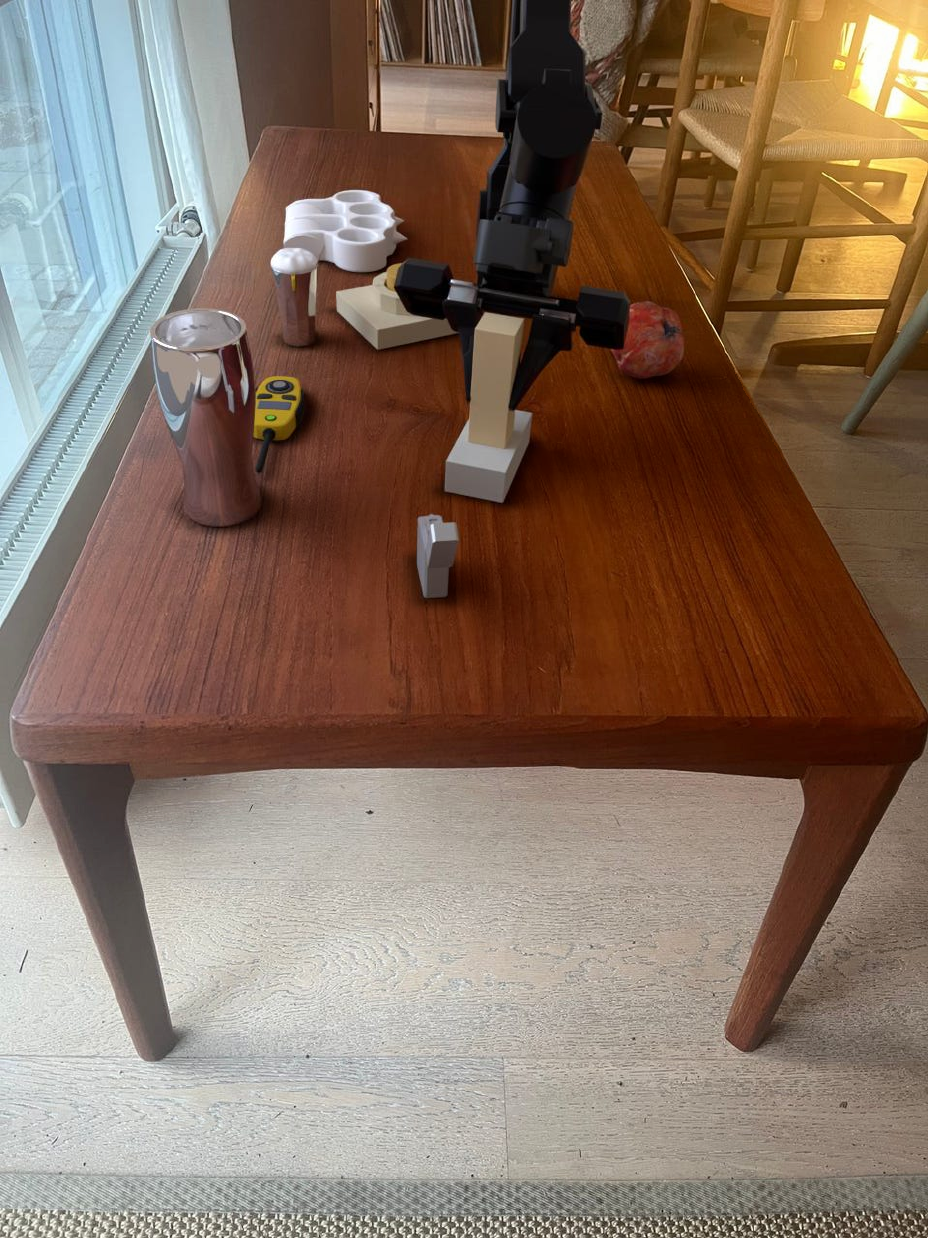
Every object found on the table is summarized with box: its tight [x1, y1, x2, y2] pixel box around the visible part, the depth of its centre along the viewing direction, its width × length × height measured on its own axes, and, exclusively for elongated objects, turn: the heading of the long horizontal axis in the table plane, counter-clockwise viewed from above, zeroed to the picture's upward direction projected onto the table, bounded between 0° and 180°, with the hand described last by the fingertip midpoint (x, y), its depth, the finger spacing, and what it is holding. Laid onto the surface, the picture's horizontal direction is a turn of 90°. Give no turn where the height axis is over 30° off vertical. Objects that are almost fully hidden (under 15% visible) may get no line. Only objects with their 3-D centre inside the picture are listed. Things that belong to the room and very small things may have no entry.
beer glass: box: [149, 307, 263, 528], centre depth 73 cm, size 7×7×15 cm
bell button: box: [386, 262, 404, 292], centre depth 102 cm, size 4×4×2 cm
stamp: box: [444, 311, 533, 504], centre depth 80 cm, size 5×10×13 cm, turn 165°
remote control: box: [253, 375, 306, 474], centre depth 86 cm, size 5×2×15 cm
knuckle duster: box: [283, 189, 408, 273], centre depth 119 cm, size 3×18×15 cm
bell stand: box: [335, 271, 459, 351], centre depth 103 cm, size 12×10×4 cm
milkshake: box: [270, 246, 324, 348], centre depth 96 cm, size 4×5×10 cm
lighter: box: [416, 513, 460, 599], centre depth 69 cm, size 7×2×8 cm, turn 10°
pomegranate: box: [610, 300, 685, 380], centre depth 96 cm, size 7×7×10 cm
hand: (489, 405), depth 79 cm, fingers closed on stamp, 3 cm apart
